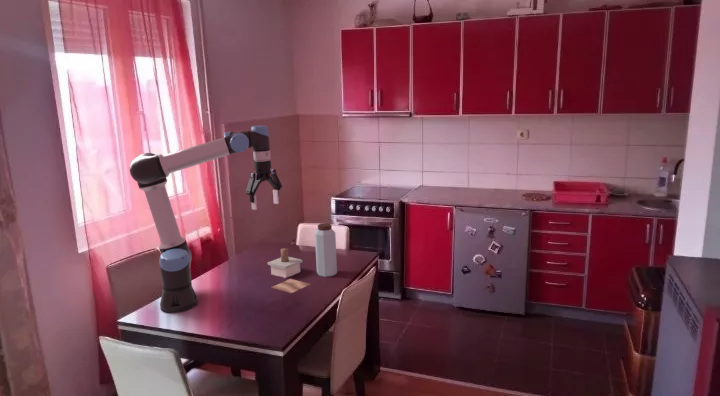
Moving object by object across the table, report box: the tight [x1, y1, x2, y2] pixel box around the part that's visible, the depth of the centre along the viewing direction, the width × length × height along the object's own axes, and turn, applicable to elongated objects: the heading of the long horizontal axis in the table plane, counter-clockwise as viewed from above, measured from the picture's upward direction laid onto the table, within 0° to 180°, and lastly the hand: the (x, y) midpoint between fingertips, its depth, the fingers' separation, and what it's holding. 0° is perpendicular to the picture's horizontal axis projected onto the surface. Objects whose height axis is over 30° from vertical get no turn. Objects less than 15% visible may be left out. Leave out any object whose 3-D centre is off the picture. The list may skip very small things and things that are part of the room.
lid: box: [267, 247, 303, 269], centre depth 248 cm, size 12×12×7 cm
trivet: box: [270, 278, 311, 294], centre depth 233 cm, size 13×13×1 cm
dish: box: [270, 263, 301, 279], centre depth 249 cm, size 10×10×6 cm
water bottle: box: [314, 222, 338, 278], centre depth 244 cm, size 10×10×25 cm
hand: (265, 206), depth 232 cm, fingers open, 13 cm apart
